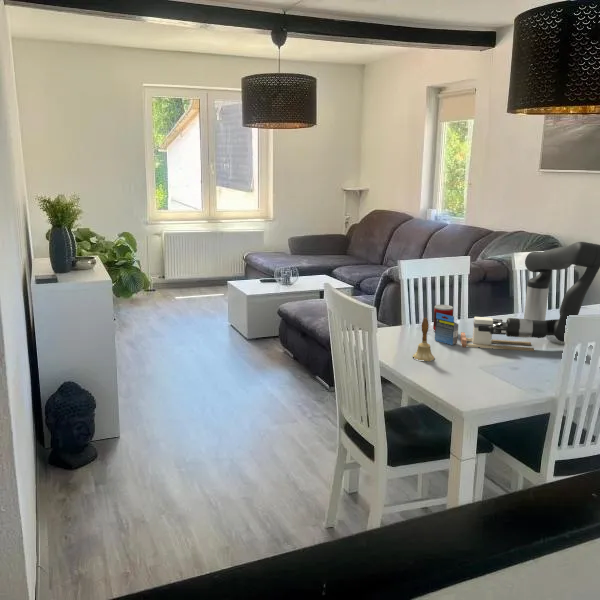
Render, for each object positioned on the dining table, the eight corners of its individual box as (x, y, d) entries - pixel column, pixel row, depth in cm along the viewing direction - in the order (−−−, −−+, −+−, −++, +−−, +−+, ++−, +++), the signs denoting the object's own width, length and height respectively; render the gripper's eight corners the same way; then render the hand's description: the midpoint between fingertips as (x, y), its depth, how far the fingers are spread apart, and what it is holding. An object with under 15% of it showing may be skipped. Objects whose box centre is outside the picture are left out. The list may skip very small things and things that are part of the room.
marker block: (472, 342, 249) (474, 316, 246) (489, 343, 248) (492, 317, 245) (472, 345, 245) (474, 319, 242) (490, 346, 243) (493, 320, 240)
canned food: (455, 332, 262) (456, 308, 259) (439, 334, 259) (441, 309, 256) (444, 327, 269) (446, 303, 266) (429, 329, 266) (431, 305, 263)
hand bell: (427, 363, 224) (429, 322, 220) (408, 358, 229) (410, 317, 225) (438, 358, 230) (441, 317, 226) (420, 352, 235) (422, 313, 231)
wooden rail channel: (460, 339, 253) (460, 332, 252) (529, 343, 247) (530, 336, 247) (461, 347, 242) (462, 340, 242) (534, 352, 237) (535, 344, 236)
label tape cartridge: (457, 343, 247) (459, 314, 244) (452, 345, 244) (454, 316, 241) (439, 338, 253) (441, 310, 250) (433, 340, 251) (435, 312, 247)
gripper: (517, 314, 247) (476, 312, 250) (522, 323, 234) (479, 321, 237) (515, 331, 249) (475, 329, 252) (521, 342, 235) (478, 339, 239)
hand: (477, 325), depth 244 cm, fingers open, 8 cm apart
